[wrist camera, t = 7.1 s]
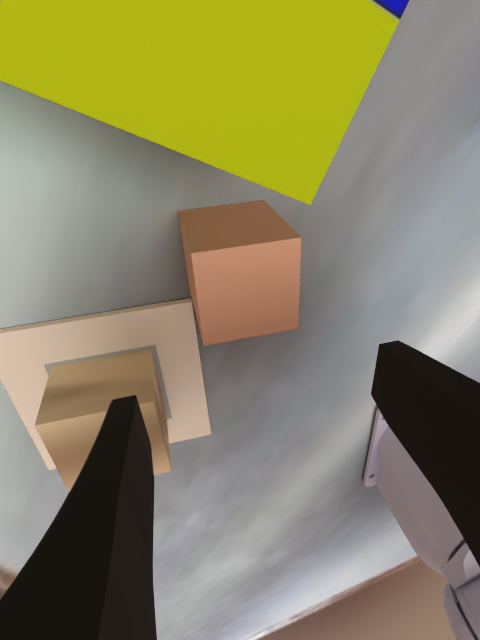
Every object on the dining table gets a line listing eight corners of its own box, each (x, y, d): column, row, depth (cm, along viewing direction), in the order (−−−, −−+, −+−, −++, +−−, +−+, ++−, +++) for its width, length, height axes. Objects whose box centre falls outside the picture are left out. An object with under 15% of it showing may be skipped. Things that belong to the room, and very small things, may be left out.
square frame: (210, 429, 25) (211, 434, 25) (50, 464, 24) (48, 470, 23) (190, 297, 20) (191, 301, 19) (-20, 332, 18) (-23, 337, 18)
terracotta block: (265, 276, 20) (298, 328, 16) (189, 288, 20) (203, 345, 15) (263, 199, 18) (301, 237, 14) (177, 210, 17) (191, 253, 13)
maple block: (166, 414, 23) (171, 470, 20) (79, 432, 22) (70, 494, 19) (150, 348, 20) (153, 401, 17) (51, 366, 20) (34, 425, 16)
